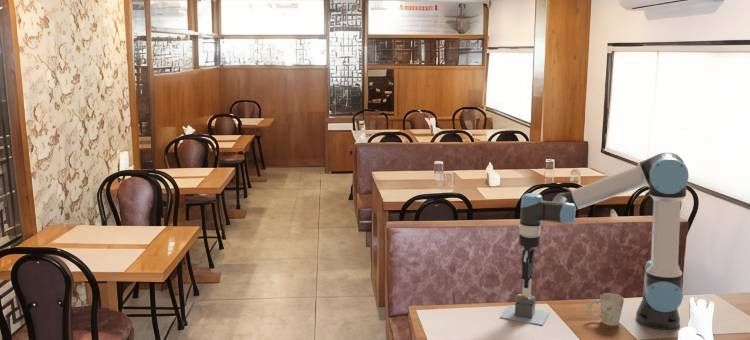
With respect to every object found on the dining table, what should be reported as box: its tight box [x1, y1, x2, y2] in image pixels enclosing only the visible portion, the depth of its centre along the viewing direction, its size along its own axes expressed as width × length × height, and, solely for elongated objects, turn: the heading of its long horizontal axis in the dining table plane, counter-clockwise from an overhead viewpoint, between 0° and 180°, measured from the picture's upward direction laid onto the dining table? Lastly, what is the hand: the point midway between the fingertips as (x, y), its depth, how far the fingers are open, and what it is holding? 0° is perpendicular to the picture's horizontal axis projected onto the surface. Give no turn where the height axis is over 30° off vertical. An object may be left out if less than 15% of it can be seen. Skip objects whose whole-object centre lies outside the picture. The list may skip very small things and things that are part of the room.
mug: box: [586, 292, 625, 327], centre depth 245 cm, size 8×13×10 cm, turn 78°
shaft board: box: [499, 304, 550, 326], centre depth 251 cm, size 16×13×5 cm
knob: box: [514, 293, 536, 319], centre depth 251 cm, size 7×7×8 cm
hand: (526, 295), depth 250 cm, fingers closed
